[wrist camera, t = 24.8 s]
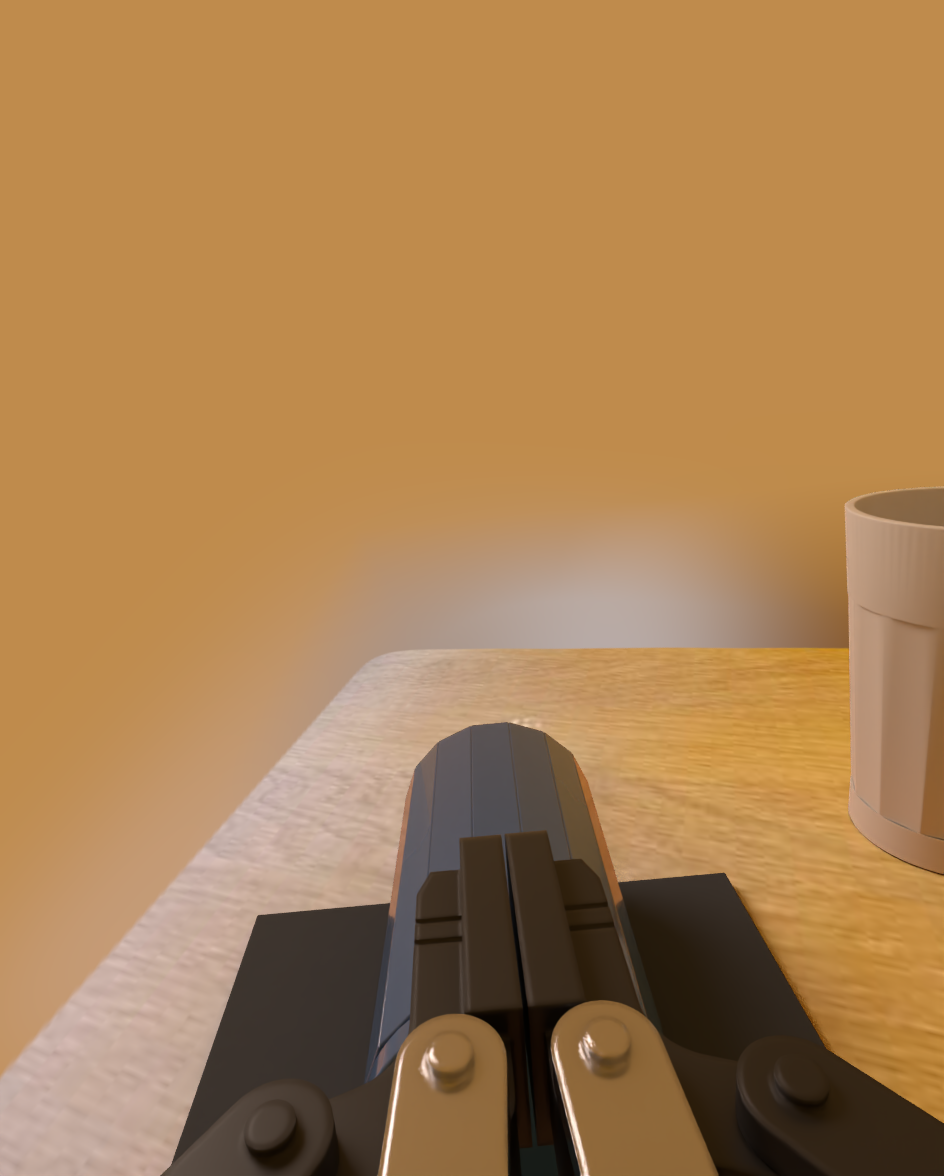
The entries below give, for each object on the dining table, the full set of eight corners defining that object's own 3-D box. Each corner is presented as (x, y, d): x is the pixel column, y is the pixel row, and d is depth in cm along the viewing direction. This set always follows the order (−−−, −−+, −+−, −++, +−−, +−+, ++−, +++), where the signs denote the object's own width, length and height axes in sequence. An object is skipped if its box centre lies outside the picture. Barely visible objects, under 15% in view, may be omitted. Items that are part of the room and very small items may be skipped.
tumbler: (337, 1021, 13) (396, 732, 23) (384, 1260, 15) (418, 889, 25) (680, 992, 13) (583, 714, 23) (686, 1236, 14) (593, 874, 25)
